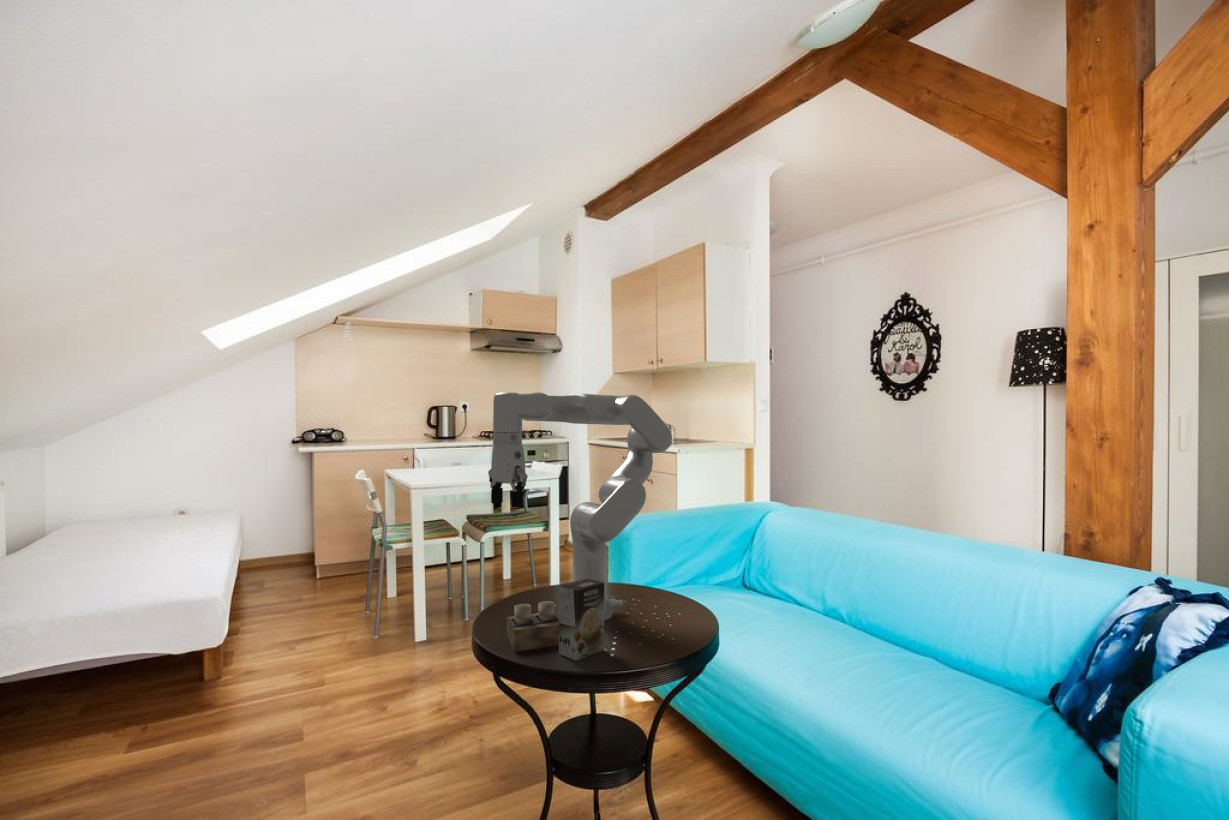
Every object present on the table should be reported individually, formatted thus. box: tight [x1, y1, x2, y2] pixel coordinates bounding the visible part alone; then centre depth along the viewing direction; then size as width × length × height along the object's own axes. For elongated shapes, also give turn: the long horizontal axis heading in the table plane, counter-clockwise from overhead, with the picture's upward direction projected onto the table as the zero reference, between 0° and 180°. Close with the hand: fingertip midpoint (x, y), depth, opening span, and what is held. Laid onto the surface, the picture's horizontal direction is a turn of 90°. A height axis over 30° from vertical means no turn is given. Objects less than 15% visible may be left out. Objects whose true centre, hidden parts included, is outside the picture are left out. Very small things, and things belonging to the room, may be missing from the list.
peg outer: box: [514, 603, 532, 625], centre depth 140 cm, size 4×4×4 cm
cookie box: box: [558, 579, 605, 662], centre depth 134 cm, size 9×6×16 cm
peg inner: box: [537, 600, 556, 622], centre depth 142 cm, size 4×4×4 cm
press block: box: [506, 612, 559, 653], centre depth 141 cm, size 12×10×5 cm
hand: (506, 504), depth 148 cm, fingers open, 9 cm apart
